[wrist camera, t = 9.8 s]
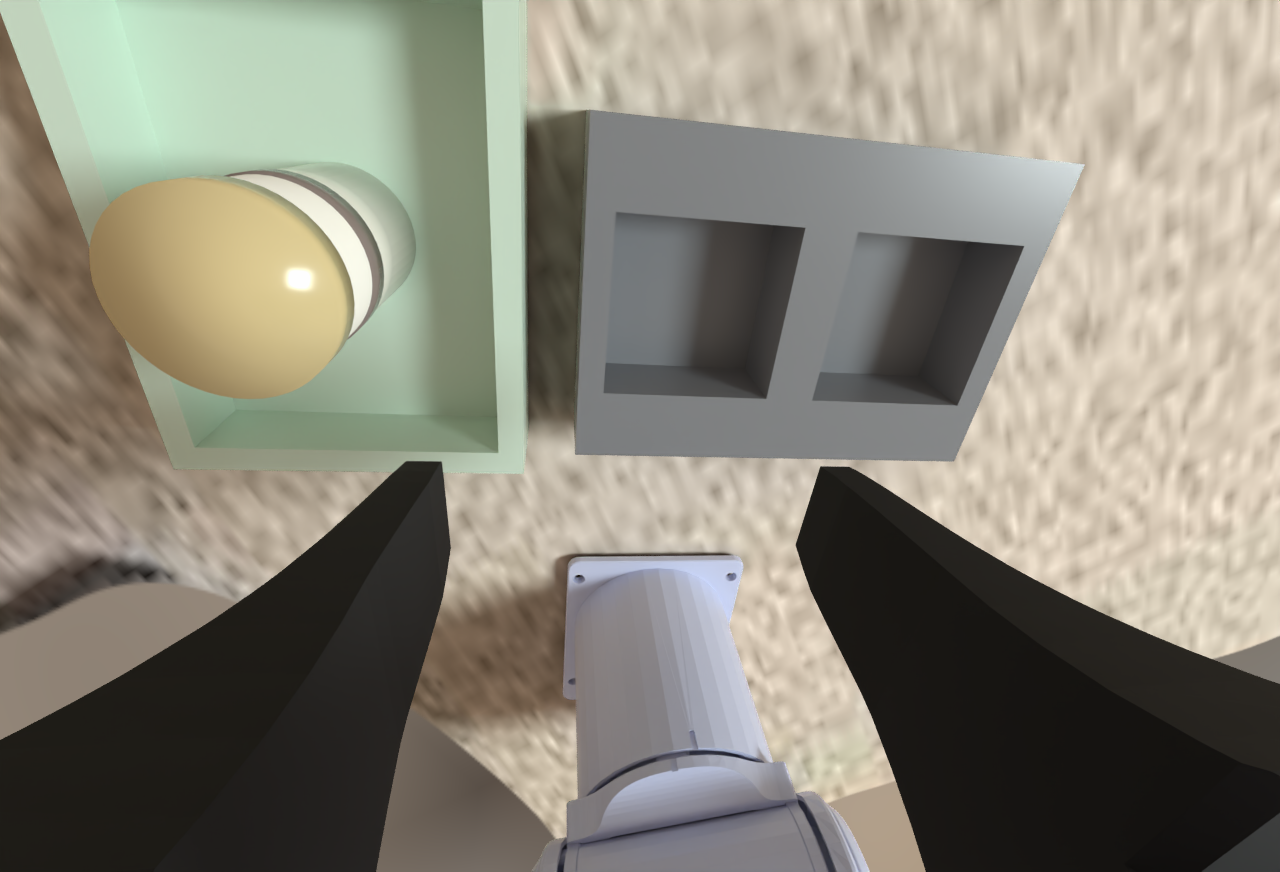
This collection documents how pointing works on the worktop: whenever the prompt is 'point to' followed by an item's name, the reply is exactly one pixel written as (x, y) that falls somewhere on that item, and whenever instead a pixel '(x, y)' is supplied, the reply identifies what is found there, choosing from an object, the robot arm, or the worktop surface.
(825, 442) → the fuse block
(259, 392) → the cylinder
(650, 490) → the worktop surface
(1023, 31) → the worktop surface
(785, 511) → the worktop surface
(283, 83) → the parts tray
